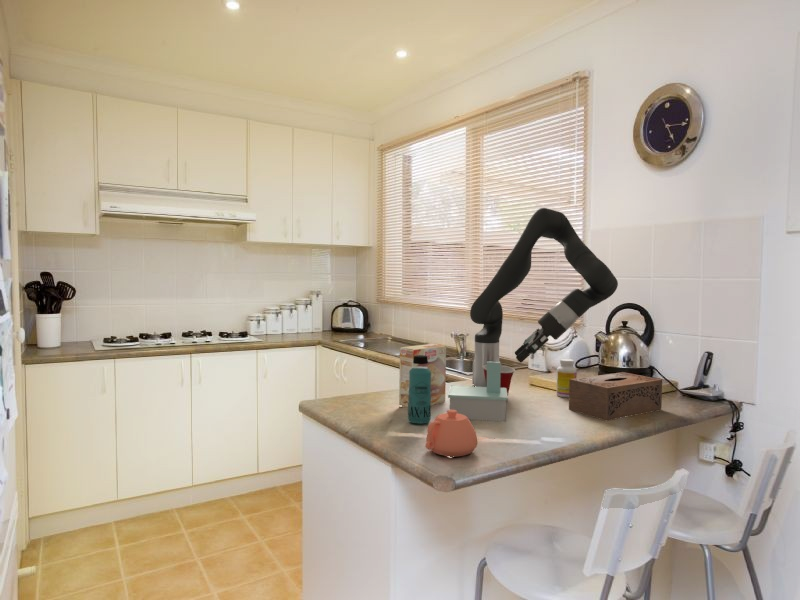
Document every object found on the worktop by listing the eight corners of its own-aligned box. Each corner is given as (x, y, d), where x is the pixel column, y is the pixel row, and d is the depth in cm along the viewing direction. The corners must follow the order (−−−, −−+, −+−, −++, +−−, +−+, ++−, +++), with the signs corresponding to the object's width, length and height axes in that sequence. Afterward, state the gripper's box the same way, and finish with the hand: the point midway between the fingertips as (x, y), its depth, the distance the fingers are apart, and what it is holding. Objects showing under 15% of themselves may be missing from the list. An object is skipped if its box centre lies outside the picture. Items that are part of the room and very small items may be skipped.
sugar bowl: (488, 454, 126) (488, 412, 125) (442, 466, 118) (443, 421, 117) (454, 440, 136) (454, 401, 135) (410, 451, 128) (410, 409, 127)
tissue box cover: (622, 401, 180) (623, 372, 180) (661, 410, 168) (662, 379, 167) (568, 410, 168) (569, 379, 167) (606, 421, 155) (607, 388, 155)
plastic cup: (508, 408, 169) (508, 371, 168) (476, 403, 174) (477, 367, 174) (519, 401, 178) (519, 366, 177) (489, 397, 184) (489, 362, 183)
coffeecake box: (413, 411, 164) (413, 349, 163) (398, 407, 169) (398, 346, 168) (446, 404, 174) (447, 345, 173) (431, 400, 179) (431, 343, 178)
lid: (447, 401, 153) (448, 364, 152) (451, 391, 166) (451, 357, 165) (507, 403, 150) (508, 366, 149) (506, 393, 163) (506, 359, 162)
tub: (449, 421, 153) (449, 397, 153) (452, 410, 165) (452, 388, 165) (505, 424, 151) (505, 399, 150) (504, 413, 163) (504, 390, 162)
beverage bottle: (404, 423, 150) (404, 354, 149) (425, 421, 153) (425, 353, 152) (413, 430, 144) (414, 357, 143) (435, 427, 147) (436, 356, 146)
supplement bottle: (577, 398, 182) (578, 361, 181) (557, 397, 183) (558, 361, 183) (574, 394, 189) (575, 358, 188) (555, 393, 190) (556, 358, 189)
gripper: (546, 309, 160) (507, 345, 163) (552, 312, 146) (509, 352, 149) (564, 326, 159) (524, 363, 162) (571, 332, 145) (528, 371, 148)
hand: (517, 357), depth 155 cm, fingers open, 8 cm apart
